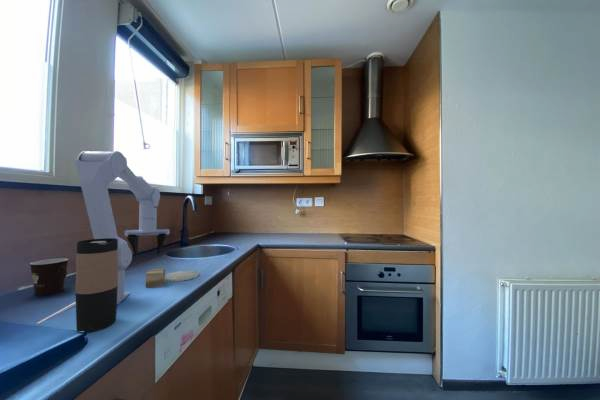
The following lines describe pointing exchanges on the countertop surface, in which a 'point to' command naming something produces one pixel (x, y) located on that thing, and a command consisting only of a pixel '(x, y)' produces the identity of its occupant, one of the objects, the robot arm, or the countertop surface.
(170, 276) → the saucer
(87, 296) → the travel mug
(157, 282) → the beech cube
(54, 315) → the fork
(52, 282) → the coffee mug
